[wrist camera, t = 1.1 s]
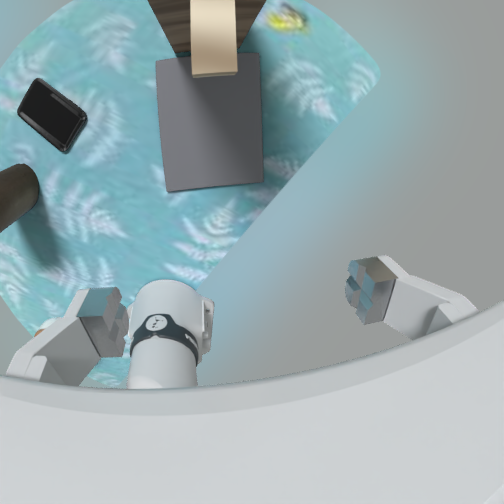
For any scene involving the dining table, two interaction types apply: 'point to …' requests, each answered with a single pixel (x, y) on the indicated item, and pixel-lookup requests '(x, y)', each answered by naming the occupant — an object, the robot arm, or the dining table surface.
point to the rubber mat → (210, 124)
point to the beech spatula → (213, 38)
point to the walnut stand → (179, 20)
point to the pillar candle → (16, 193)
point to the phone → (51, 114)
